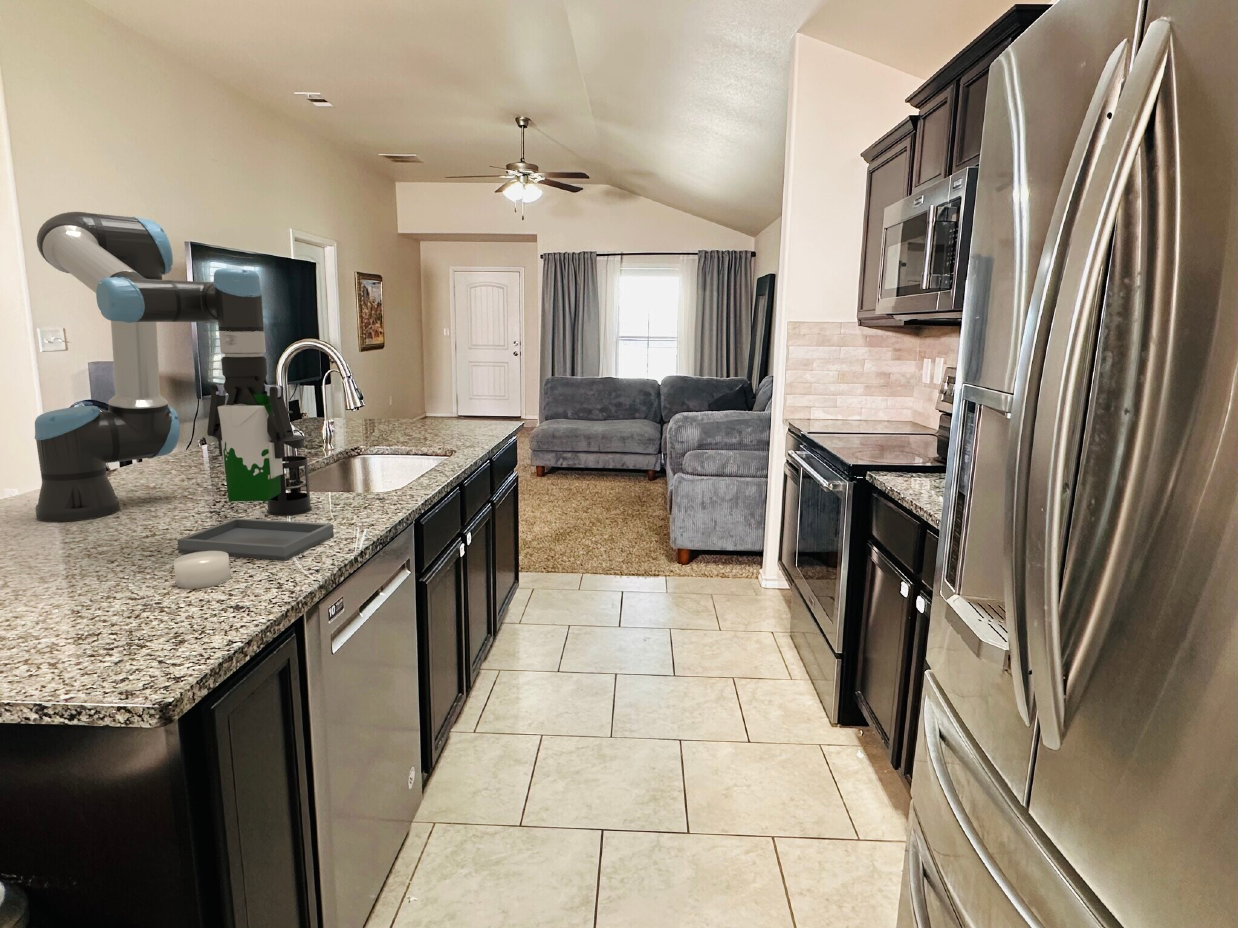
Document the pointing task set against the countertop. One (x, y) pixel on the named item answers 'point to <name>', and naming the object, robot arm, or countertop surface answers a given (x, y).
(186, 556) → the cream glossy pebble
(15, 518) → the countertop surface
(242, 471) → the soya milk
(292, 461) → the french press
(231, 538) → the tray
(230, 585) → the countertop surface
